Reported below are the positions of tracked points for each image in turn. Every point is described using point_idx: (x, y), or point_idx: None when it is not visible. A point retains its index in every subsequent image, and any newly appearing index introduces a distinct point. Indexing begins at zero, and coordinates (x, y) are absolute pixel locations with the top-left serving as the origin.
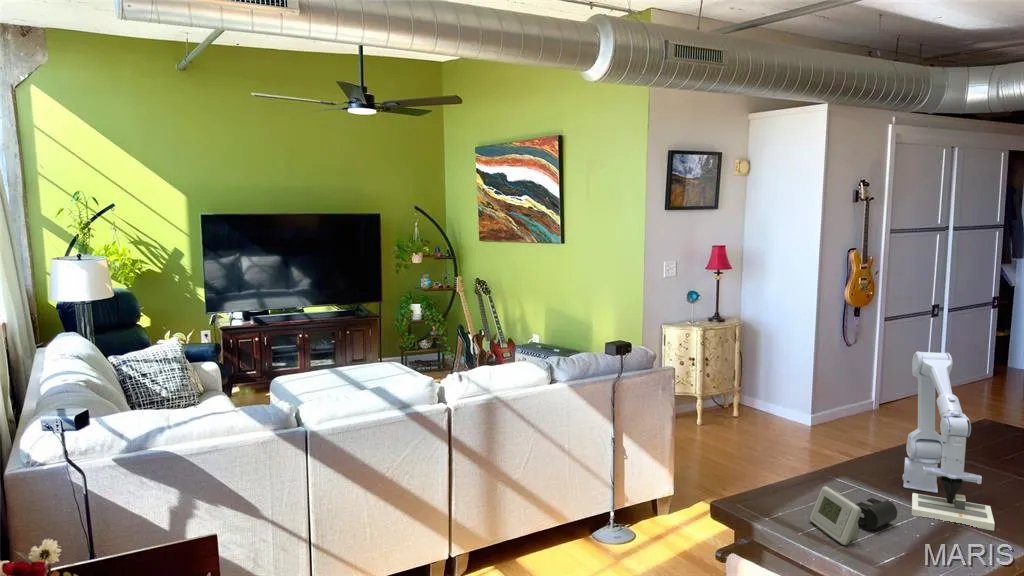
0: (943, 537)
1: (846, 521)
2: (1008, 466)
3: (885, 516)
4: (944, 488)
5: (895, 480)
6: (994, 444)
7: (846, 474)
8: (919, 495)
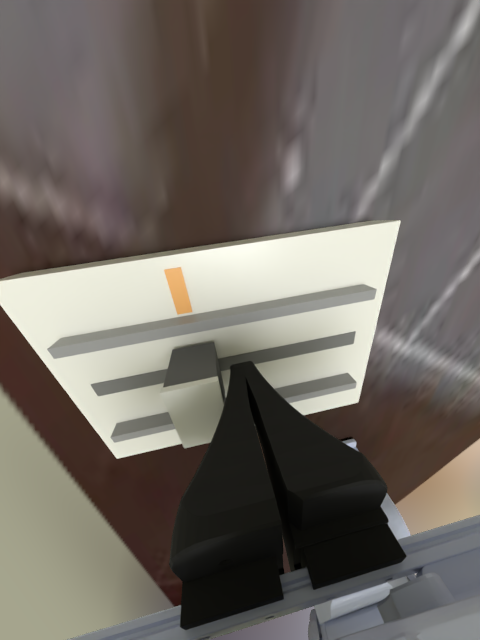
0: None
1: None
2: (177, 595)
3: None
4: (307, 418)
5: None
6: None
7: (465, 425)
8: (351, 382)
